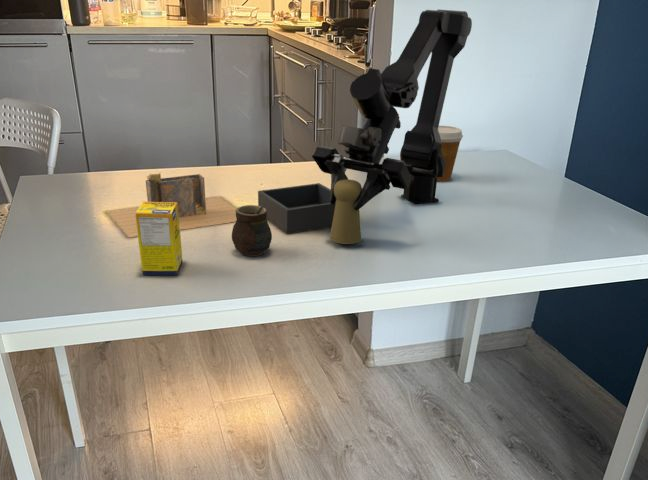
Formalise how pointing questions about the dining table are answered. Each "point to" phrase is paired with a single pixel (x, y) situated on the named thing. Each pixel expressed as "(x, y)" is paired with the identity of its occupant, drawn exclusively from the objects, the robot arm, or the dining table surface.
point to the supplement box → (159, 238)
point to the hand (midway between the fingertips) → (343, 206)
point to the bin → (298, 207)
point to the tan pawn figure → (346, 213)
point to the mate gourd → (251, 230)
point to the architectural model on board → (180, 203)
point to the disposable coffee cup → (449, 148)
